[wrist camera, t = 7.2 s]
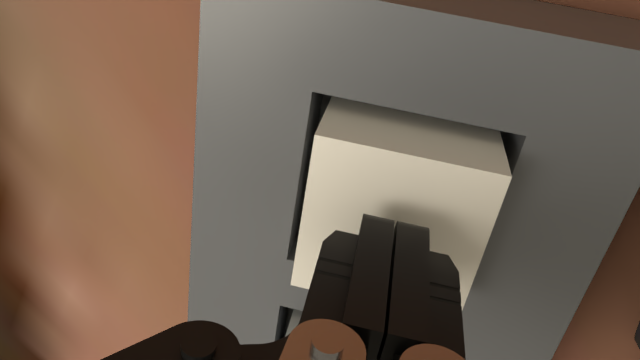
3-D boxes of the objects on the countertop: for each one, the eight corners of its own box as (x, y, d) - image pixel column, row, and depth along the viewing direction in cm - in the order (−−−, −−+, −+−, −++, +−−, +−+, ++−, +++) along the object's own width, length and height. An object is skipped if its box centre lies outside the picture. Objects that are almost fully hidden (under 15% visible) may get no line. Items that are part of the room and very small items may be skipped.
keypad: (640, 20, 15) (702, 62, 12) (426, 511, 27) (425, 604, 24) (251, -54, 16) (202, -34, 13) (210, 454, 28) (179, 536, 24)
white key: (499, 131, 14) (512, 176, 12) (453, 265, 16) (457, 324, 14) (331, 96, 15) (314, 134, 12) (308, 232, 17) (290, 284, 15)
